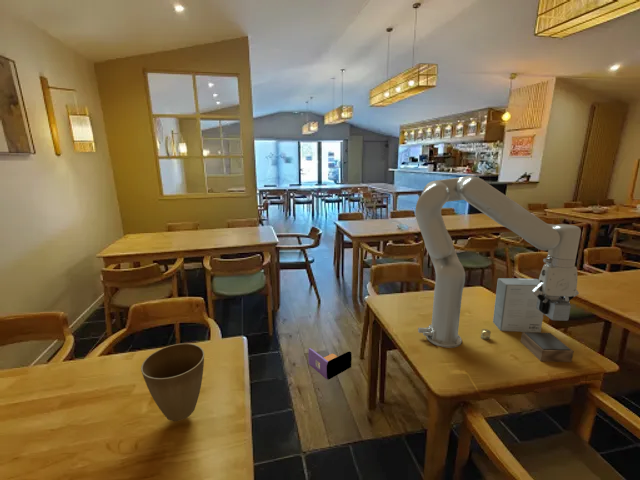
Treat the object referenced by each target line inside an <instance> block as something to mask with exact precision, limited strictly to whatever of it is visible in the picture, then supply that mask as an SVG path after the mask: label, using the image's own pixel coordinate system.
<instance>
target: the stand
mask: <svg viewBox="0 0 640 480" xmlns="http://www.w3.org/2000/svg"><path fill="white" fill-rule="evenodd" d="M520 343H521V344H523V346H524V347H525V348H526V349H527V350H528V351H529V352H531V353H532V354H533V355H534V357H536V358H537V359H538V361H540V362H557V363H558V362H559V363H562V362H564V363H572V362H573V361H572V360H573V357H574V356H573V355H574V350H573V349H571V348H570V347H569V346H567V345H566V344H565V343H564V342H562V341H561V340H560V339H558V338H557V337H556V336H555V335H553V333H551V332H521V338H520Z"/></svg>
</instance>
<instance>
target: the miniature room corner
mask: <svg viewBox="0 0 640 480" xmlns="http://www.w3.org/2000/svg"><path fill="white" fill-rule="evenodd" d="M307 351H308V365H309V366H310V367H312V369H314V370H315V371H316V372H317V373H319V374H320V375H321V376H322V377H323V378H324V379H325V380H327V381H328V380H332V379H333V378H334V377H336V376H338V375H340V374H342V373H343V372H345V371H347V370H349V369H351V368H352V358H353V357H352V355H353V353H352V351H350V350H349V351H347V352H346V351H345V352H344V353H342V354H339V355H337V354H334V353H329V354H328V355H327V356H324V357H323V356H322V355H321V354H319V353H318V352H317V351H315V350H314V349H312V348H311V347H309V348H308V350H307Z"/></svg>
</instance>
